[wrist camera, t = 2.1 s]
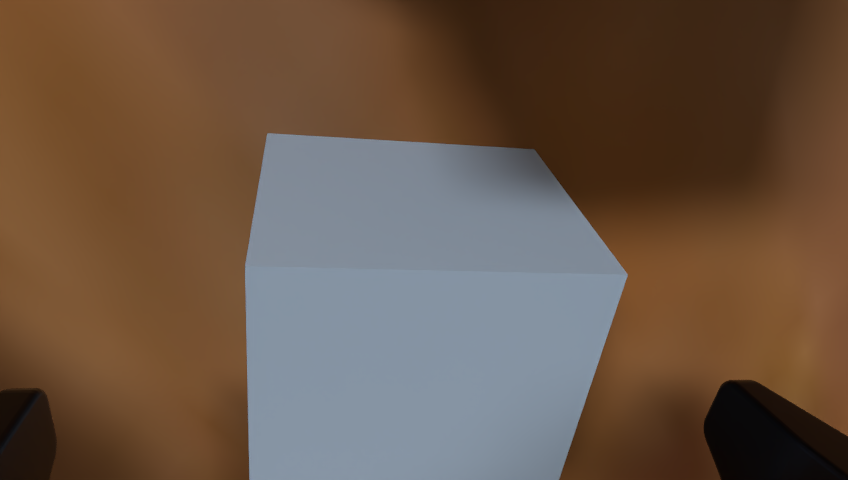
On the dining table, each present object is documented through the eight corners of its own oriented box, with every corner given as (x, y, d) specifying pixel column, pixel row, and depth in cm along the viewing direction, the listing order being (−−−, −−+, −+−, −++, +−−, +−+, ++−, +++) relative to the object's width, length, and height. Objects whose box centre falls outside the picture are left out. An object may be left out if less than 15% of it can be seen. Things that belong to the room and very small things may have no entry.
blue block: (488, 347, 13) (547, 514, 10) (267, 347, 13) (250, 529, 9) (532, 147, 11) (627, 275, 8) (267, 131, 10) (245, 266, 7)
